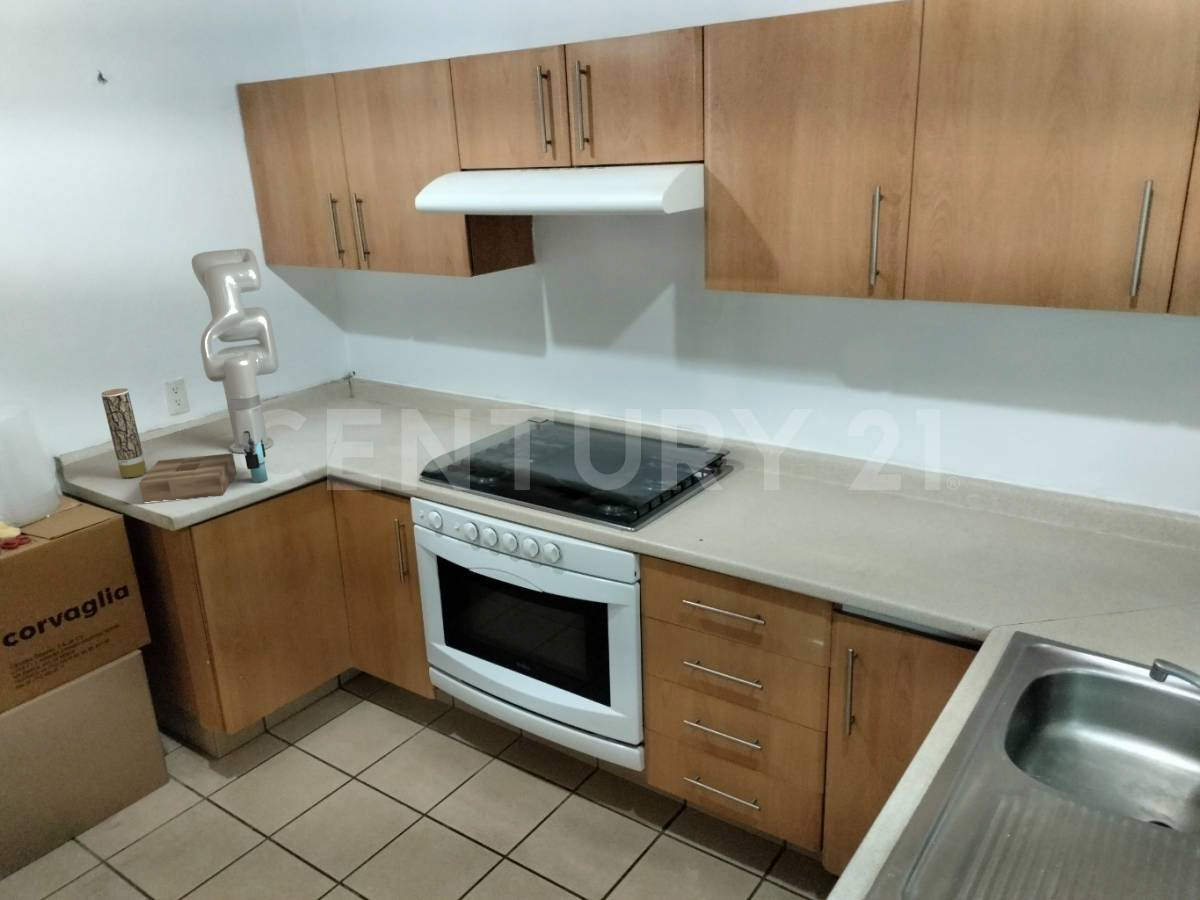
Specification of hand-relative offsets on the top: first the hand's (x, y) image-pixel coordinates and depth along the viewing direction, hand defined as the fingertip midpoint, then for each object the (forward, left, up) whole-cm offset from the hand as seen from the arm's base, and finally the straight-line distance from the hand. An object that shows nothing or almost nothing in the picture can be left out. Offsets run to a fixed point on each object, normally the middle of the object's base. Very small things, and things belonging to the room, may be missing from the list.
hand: (256, 462), depth 249 cm
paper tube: (-17, -38, -6) cm, 42 cm away
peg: (0, 0, -5) cm, 5 cm away
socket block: (0, -18, -5) cm, 19 cm away
